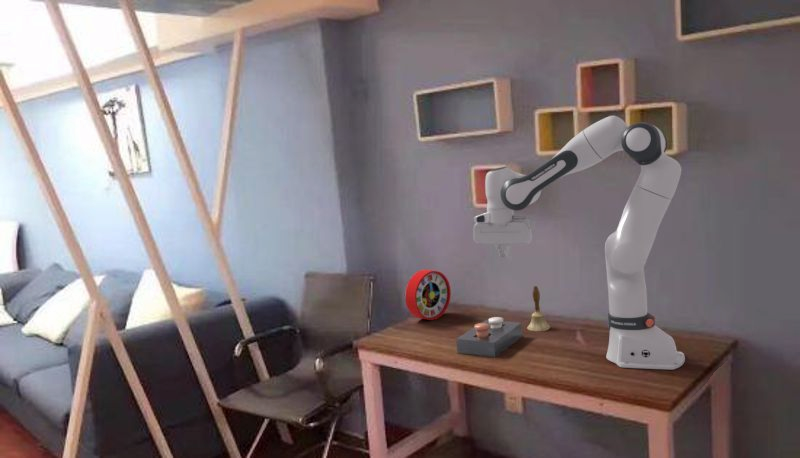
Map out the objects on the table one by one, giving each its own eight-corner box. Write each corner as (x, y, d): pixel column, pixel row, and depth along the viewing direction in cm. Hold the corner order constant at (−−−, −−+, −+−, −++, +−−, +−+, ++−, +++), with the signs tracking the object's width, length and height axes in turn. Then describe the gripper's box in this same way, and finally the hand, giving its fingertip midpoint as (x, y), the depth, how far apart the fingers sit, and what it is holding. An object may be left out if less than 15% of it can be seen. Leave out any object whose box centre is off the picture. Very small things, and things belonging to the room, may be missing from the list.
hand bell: (550, 331, 232) (547, 288, 230) (527, 332, 234) (524, 289, 232) (549, 324, 240) (547, 282, 238) (527, 325, 242) (524, 284, 240)
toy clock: (417, 325, 255) (412, 276, 253) (407, 323, 260) (403, 275, 257) (452, 313, 268) (448, 266, 266) (442, 311, 273) (438, 265, 270)
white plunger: (506, 333, 229) (505, 317, 228) (500, 337, 225) (499, 321, 224) (493, 332, 232) (492, 316, 231) (487, 336, 228) (485, 320, 227)
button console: (522, 336, 230) (521, 322, 229) (495, 357, 211) (493, 342, 210) (486, 332, 237) (485, 319, 237) (457, 353, 218) (456, 338, 218)
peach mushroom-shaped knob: (493, 340, 220) (492, 323, 219) (486, 344, 216) (485, 328, 215) (479, 338, 223) (478, 322, 222) (472, 343, 218) (471, 326, 218)
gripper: (533, 214, 212) (536, 255, 214) (477, 215, 223) (481, 254, 225) (526, 217, 207) (529, 259, 208) (469, 217, 218) (472, 257, 220)
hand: (503, 256), depth 217 cm, fingers closed
